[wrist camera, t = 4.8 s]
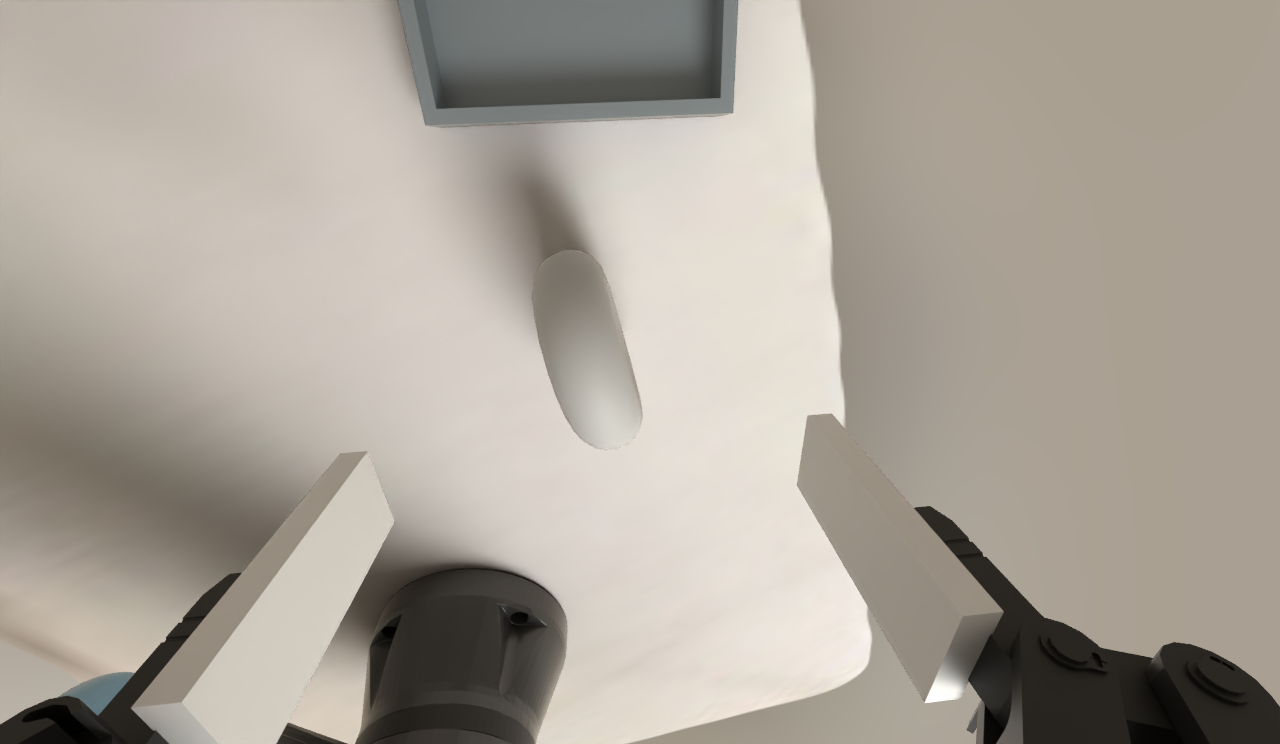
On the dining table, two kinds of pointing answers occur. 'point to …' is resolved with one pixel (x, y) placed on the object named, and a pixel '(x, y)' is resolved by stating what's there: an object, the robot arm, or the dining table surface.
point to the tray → (570, 59)
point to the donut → (586, 350)
